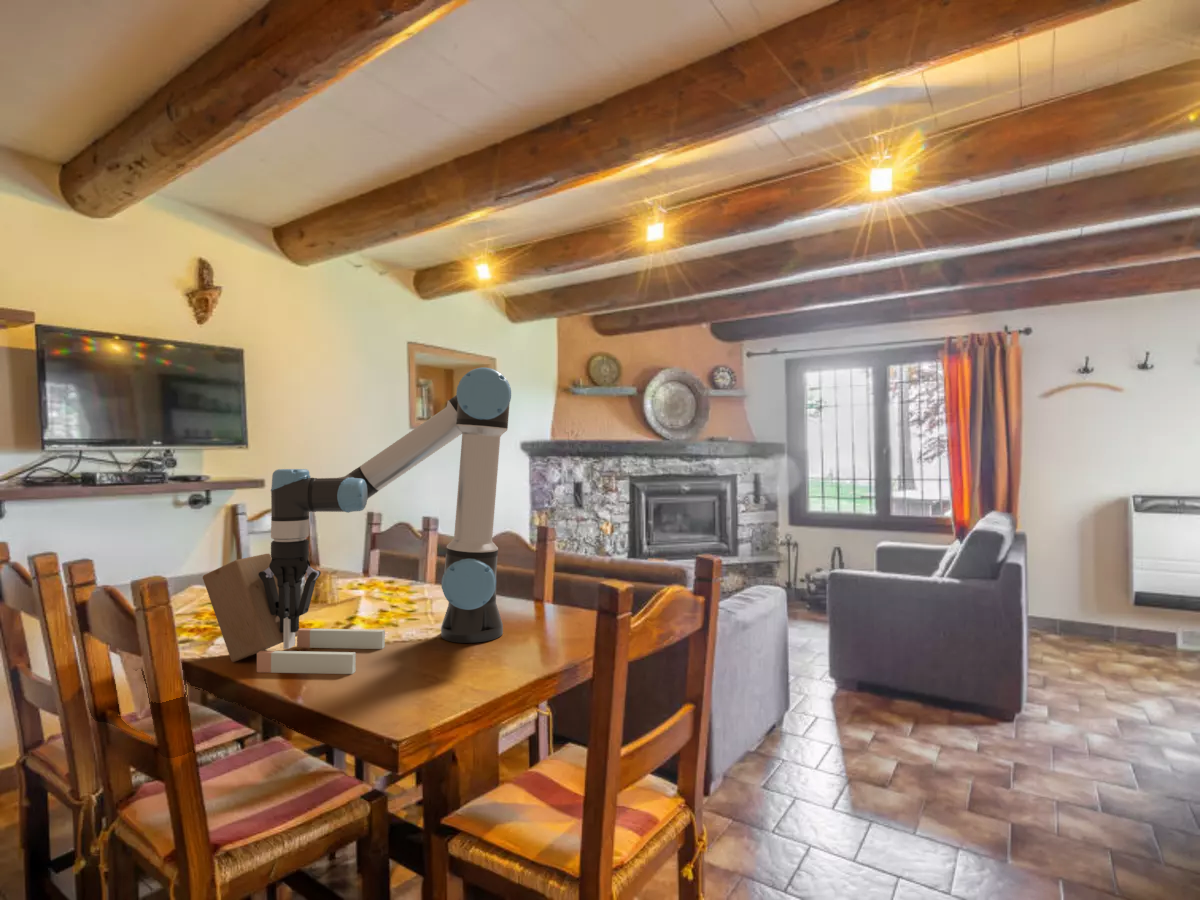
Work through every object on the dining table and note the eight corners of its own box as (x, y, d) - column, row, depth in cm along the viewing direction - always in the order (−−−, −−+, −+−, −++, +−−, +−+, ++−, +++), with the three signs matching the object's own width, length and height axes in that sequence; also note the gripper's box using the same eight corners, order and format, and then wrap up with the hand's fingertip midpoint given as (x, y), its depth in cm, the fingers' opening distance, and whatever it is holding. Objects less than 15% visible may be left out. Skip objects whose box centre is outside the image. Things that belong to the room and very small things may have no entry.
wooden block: (266, 648, 135) (235, 559, 138) (231, 663, 138) (200, 576, 140) (300, 634, 145) (270, 552, 147) (266, 649, 147) (237, 567, 150)
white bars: (384, 646, 150) (384, 629, 150) (352, 674, 132) (352, 654, 132) (300, 645, 150) (300, 628, 150) (256, 672, 132) (256, 652, 132)
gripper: (326, 537, 144) (325, 642, 144) (270, 536, 145) (269, 641, 145) (310, 541, 137) (309, 652, 137) (251, 541, 137) (250, 651, 137)
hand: (289, 646), depth 141 cm, fingers closed
